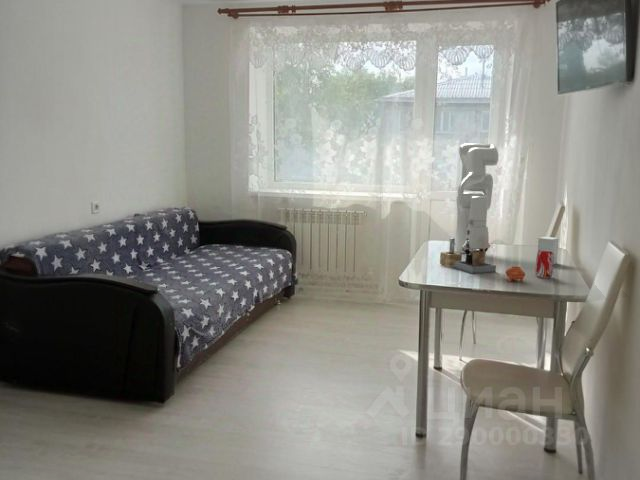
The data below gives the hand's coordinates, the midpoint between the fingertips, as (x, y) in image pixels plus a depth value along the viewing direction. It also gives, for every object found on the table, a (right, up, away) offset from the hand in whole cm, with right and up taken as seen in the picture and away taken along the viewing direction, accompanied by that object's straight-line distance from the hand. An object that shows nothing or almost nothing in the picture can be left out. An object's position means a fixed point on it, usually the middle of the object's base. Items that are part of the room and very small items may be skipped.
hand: (475, 262), depth 267 cm
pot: (+11, -7, -20) cm, 24 cm away
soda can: (+27, -6, -11) cm, 30 cm away
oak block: (-9, -2, +10) cm, 14 cm away
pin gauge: (-9, -1, +10) cm, 13 cm away
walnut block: (0, -1, 0) cm, 1 cm away
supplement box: (+40, -1, +20) cm, 45 cm away
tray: (0, -3, 0) cm, 3 cm away
